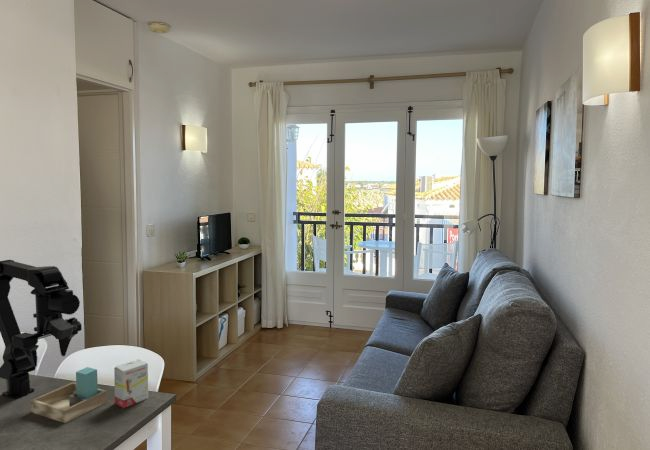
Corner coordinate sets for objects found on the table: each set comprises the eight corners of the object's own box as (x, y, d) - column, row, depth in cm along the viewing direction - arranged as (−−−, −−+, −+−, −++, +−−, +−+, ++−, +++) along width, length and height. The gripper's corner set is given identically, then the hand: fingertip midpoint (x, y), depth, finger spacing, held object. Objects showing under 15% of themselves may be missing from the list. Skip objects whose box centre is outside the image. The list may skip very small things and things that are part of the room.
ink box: (123, 409, 145) (122, 371, 144) (114, 404, 148) (113, 366, 147) (149, 399, 152) (148, 362, 150) (140, 395, 155) (139, 358, 153)
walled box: (31, 413, 142) (30, 400, 141) (74, 394, 154) (73, 381, 154) (65, 424, 136) (64, 410, 135) (106, 403, 149) (106, 390, 148)
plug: (77, 406, 145) (75, 371, 144) (88, 400, 149) (87, 367, 148) (86, 409, 144) (85, 374, 143) (98, 403, 147) (97, 369, 146)
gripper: (35, 322, 133) (38, 377, 135) (93, 305, 150) (95, 355, 152) (8, 316, 138) (11, 370, 140) (68, 301, 155) (69, 349, 157)
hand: (49, 361), depth 147 cm, fingers open, 9 cm apart
